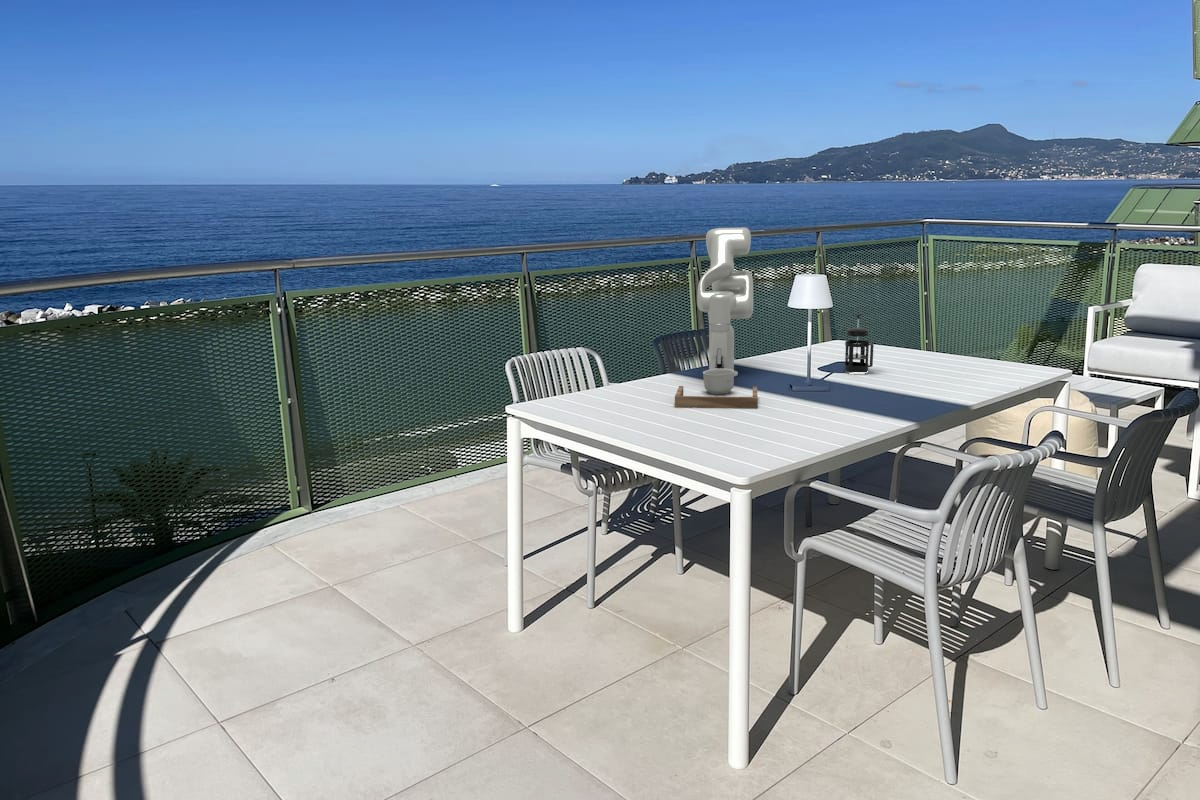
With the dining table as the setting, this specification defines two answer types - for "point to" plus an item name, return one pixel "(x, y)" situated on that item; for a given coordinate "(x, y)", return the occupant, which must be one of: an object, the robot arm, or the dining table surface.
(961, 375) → the dining table surface
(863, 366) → the french press
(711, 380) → the teacup
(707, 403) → the walnut bay
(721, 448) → the dining table surface
